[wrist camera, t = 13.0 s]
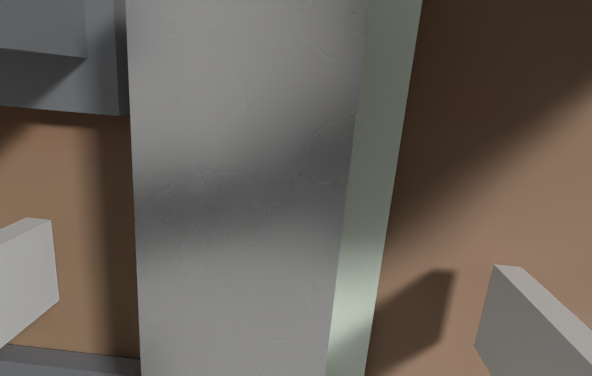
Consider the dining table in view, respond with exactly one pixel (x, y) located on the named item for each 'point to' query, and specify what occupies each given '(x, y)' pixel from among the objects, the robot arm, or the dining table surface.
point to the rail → (240, 179)
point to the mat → (371, 179)
